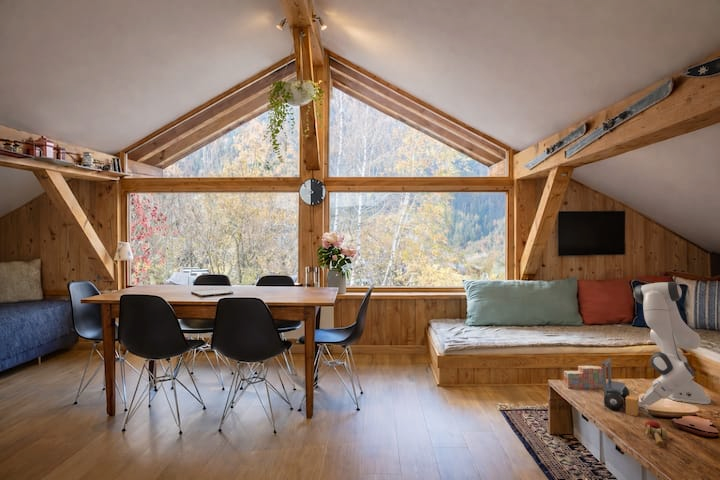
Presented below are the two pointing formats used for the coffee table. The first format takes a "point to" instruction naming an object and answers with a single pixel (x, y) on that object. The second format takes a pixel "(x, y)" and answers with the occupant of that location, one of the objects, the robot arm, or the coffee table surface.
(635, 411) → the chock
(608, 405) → the trolley
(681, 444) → the coffee table surface
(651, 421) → the kendama
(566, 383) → the stack of blocks
